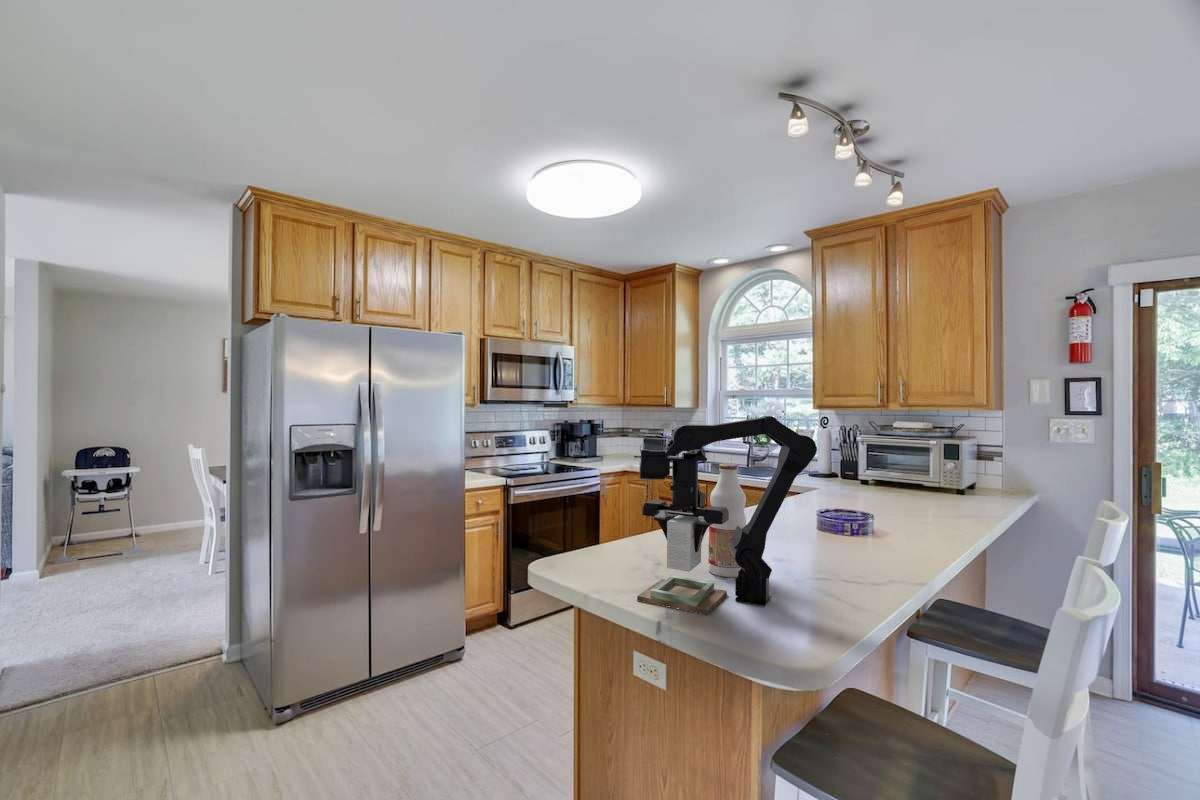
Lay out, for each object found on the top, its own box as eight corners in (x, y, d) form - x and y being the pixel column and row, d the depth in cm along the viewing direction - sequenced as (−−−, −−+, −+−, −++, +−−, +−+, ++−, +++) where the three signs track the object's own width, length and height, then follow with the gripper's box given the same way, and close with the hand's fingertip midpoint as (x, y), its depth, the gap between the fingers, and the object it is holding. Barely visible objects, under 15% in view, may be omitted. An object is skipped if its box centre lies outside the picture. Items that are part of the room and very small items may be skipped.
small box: (678, 559, 130) (679, 514, 130) (701, 563, 127) (702, 516, 127) (665, 568, 123) (666, 520, 123) (690, 572, 120) (690, 523, 120)
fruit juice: (730, 580, 138) (732, 467, 138) (700, 571, 145) (702, 463, 145) (752, 573, 144) (754, 465, 144) (723, 564, 151) (725, 461, 151)
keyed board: (726, 595, 127) (726, 584, 127) (707, 615, 115) (707, 603, 115) (661, 582, 135) (662, 572, 135) (637, 600, 123) (637, 589, 123)
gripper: (735, 479, 127) (735, 547, 127) (660, 473, 136) (659, 537, 136) (721, 485, 118) (720, 559, 118) (641, 478, 127) (640, 547, 127)
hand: (684, 549), depth 125 cm, fingers closed on small box, 6 cm apart
